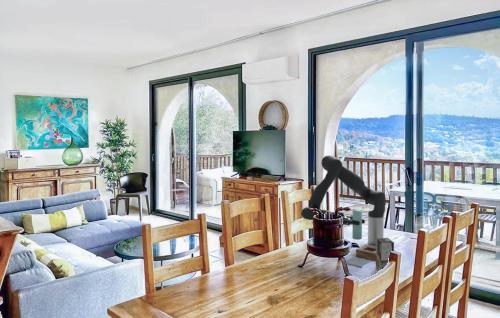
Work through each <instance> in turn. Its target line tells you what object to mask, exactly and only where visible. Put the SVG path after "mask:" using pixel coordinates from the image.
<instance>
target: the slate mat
mask: <svg viewBox="0 0 500 318" xmlns="http://www.w3.org/2000/svg"><path fill="white" fill-rule="evenodd" d="M371 262H372V261H371V260H366V259H362V258H358V257H354V256H351V257H350V258H348V259H346V263H347V264H346V265H348V266H353V267H357V268H363V267H364V266H365V265H368V264H370V263H371Z"/></svg>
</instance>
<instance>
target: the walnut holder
mask: <svg viewBox="0 0 500 318" xmlns="http://www.w3.org/2000/svg"><path fill="white" fill-rule="evenodd" d="M350 257H354V258H358V259H363V260H367V261H371V262H375V263H376V246H373V245H367V244H365V245H363V246H360V247H358V248H356V249H355V253H353V254H350Z"/></svg>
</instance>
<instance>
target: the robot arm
mask: <svg viewBox="0 0 500 318" xmlns="http://www.w3.org/2000/svg"><path fill="white" fill-rule="evenodd" d="M321 167H322V168H323V169H324V170H325V171H326V174H325V176H324V178H323V180H322V181H321V182H319V184H317V186H316V187H315V188H314V190H312V193H311V196H310V197H309V203H310V207H308V206H306V207H304V208H302V210H301V212H300V214H301V217H302V218H303V219H305V220H309V221H314V220H313V216H314V215H317V214H318V213H317V212H308V211H306V209H307V208H317V209H320V210H321V211H322V213H323V214H326V213H327V212H329V213H330V214H334V213H335V211H336V210H330V209H329V210H327V209H321V205H322V203H323V201H324V198H325V196H326V194H327V192H328V191H329V189H330V187H331V186H332V184H333V183H334V182H335V180H336V178H337V179H338V180H339V181H340V182H342V183H343V184H344V185H345V186H346V187H347V188H349V189H350V190H351V191H353V192H354V193H356V194H357V195H359V196H360V197H361V198H362V199H363V201H364V202H366V203H367V204H369V205H371V206H373V209H372V210H369V211H368V214H367V244H368V245H370V246H376V238H384V223H385V221H384V216H385V211H386V201H387V200H386V199H387V198H386V197H387V196H386V194H385V193H384V192H383V191H380V190H374V189H371V188H370V187H368V186H366V185H365V181H364V179H363V178H362V177H361V176H360V175H359V174H357V173H356V172H354V171H352V170H351V169H349V168H347V167H345V166H344V165H343V163H342V161H341V159H340V158H338V157H335V156H333V155H330V154H329V155H325V156H323V158H322V160H321ZM338 214H339V215H341V216H342V217H343V224H342V225H344V226H350V225H351V226H353V225H360V221H356V220H353V214H352V215H345V214H344V212H343V211H338ZM365 223H366V220H365V219H364V218H362V225H364V224H365Z"/></svg>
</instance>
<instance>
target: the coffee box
mask: <svg viewBox="0 0 500 318" xmlns="http://www.w3.org/2000/svg"><path fill="white" fill-rule="evenodd" d="M375 247H376V262H375V268H376V270H377V272H378V271H379V270H381V269H383V268H384V267H385V266H386V265H387V263H388V258H389V253H390V252H391V251H394V252H395V242H394V241H393V240H391V239H390V238H388V237H383V238H376V245H375Z"/></svg>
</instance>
